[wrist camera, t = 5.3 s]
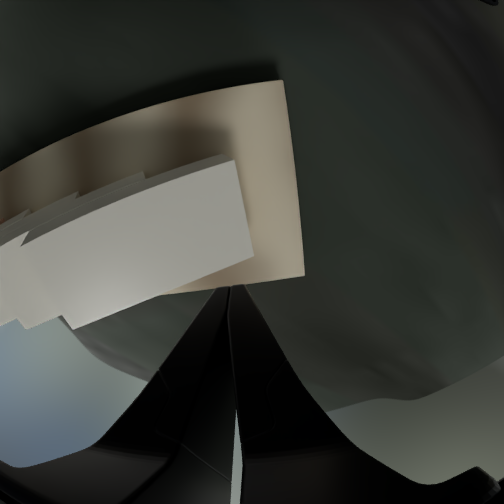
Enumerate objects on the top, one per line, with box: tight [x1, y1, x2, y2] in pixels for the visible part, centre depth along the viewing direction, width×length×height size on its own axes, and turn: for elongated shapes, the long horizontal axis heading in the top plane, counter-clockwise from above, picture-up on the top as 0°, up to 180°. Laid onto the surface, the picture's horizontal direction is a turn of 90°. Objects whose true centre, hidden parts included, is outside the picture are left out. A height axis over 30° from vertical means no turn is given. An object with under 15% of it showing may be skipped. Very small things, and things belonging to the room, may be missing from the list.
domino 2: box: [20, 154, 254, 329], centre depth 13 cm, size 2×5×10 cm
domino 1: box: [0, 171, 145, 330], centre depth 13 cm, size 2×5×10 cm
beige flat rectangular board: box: [0, 80, 305, 295], centre depth 16 cm, size 22×11×1 cm, turn 99°
